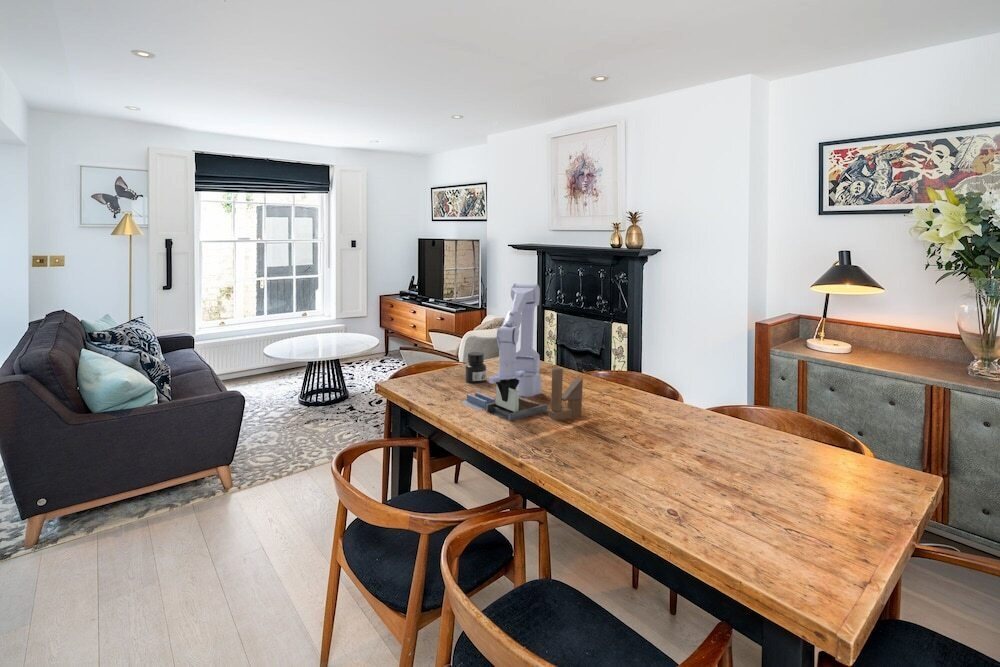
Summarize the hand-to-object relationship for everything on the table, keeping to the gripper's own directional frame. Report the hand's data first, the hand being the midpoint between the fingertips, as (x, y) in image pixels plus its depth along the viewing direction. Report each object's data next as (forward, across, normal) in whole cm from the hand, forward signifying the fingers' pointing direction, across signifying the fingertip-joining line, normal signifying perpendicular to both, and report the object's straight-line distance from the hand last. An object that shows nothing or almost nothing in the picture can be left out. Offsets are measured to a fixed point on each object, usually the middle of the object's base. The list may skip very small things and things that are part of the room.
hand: (507, 400), depth 181 cm
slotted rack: (+6, +4, 0) cm, 7 cm away
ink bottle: (+6, +19, +44) cm, 48 cm away
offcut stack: (+5, +9, 0) cm, 10 cm away
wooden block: (+6, +14, -14) cm, 21 cm away
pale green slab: (+3, 0, 0) cm, 3 cm away
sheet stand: (+6, 0, +15) cm, 16 cm away
